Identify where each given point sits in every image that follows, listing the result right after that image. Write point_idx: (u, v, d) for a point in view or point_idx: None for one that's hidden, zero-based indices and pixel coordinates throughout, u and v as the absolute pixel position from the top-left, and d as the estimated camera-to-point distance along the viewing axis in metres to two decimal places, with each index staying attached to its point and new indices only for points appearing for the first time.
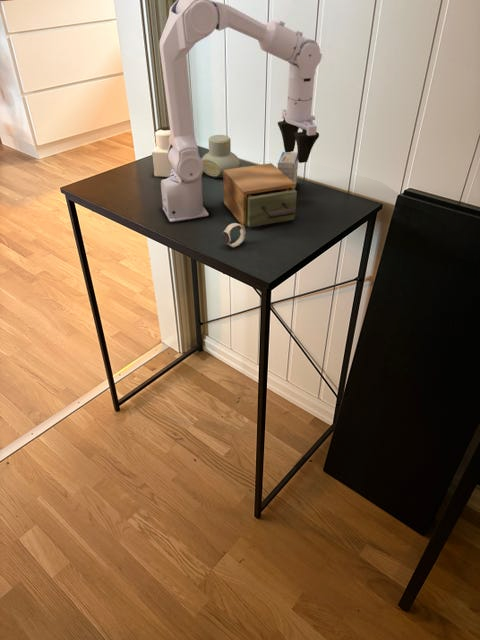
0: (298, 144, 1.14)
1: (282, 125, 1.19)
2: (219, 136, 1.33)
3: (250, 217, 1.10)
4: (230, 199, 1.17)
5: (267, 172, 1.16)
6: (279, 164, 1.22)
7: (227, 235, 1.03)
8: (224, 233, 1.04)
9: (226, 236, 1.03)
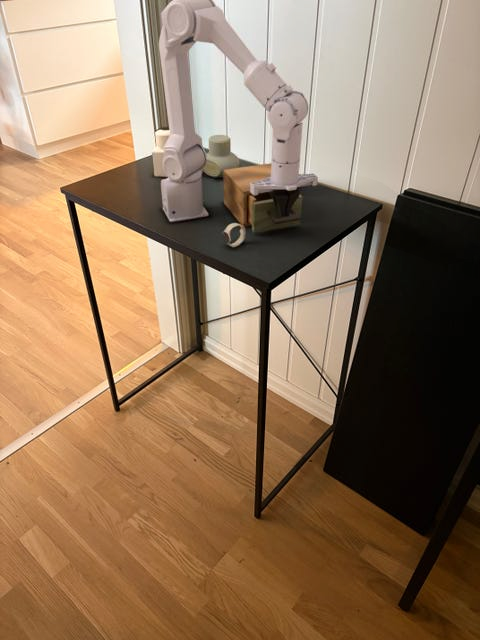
0: None
1: None
2: (219, 136, 1.33)
3: (255, 222, 1.08)
4: (230, 199, 1.17)
5: (267, 172, 1.16)
6: None
7: (227, 235, 1.03)
8: (224, 233, 1.04)
9: (226, 236, 1.03)
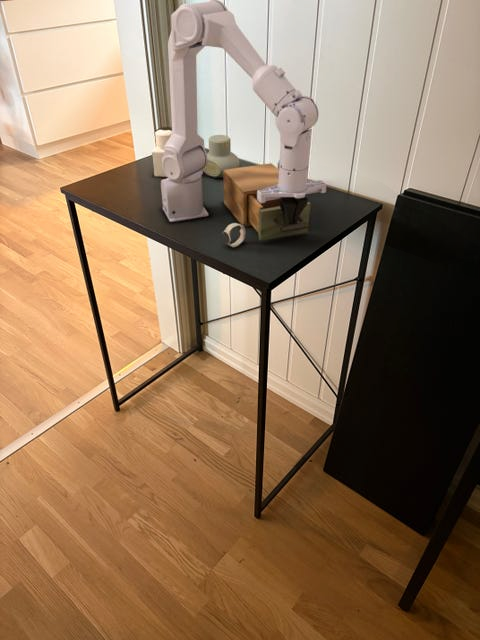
0: None
1: None
2: (219, 136, 1.33)
3: (262, 230, 1.05)
4: (230, 199, 1.17)
5: (267, 172, 1.16)
6: None
7: (227, 235, 1.03)
8: (224, 233, 1.04)
9: (226, 236, 1.03)
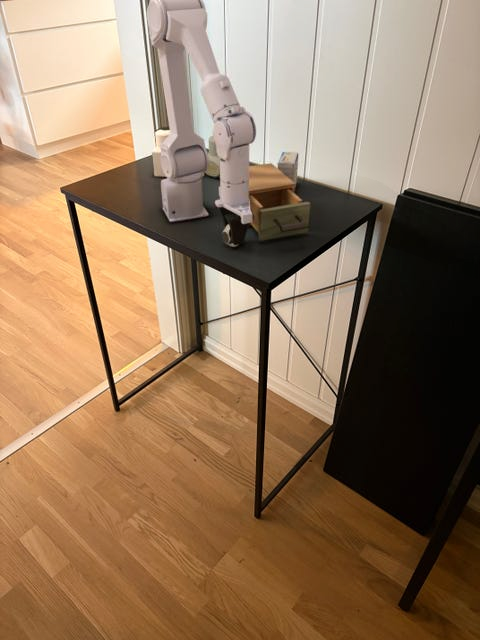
0: None
1: None
2: None
3: (262, 230, 1.05)
4: None
5: (267, 172, 1.16)
6: (279, 164, 1.22)
7: (226, 234, 1.03)
8: (223, 233, 1.04)
9: (225, 235, 1.03)
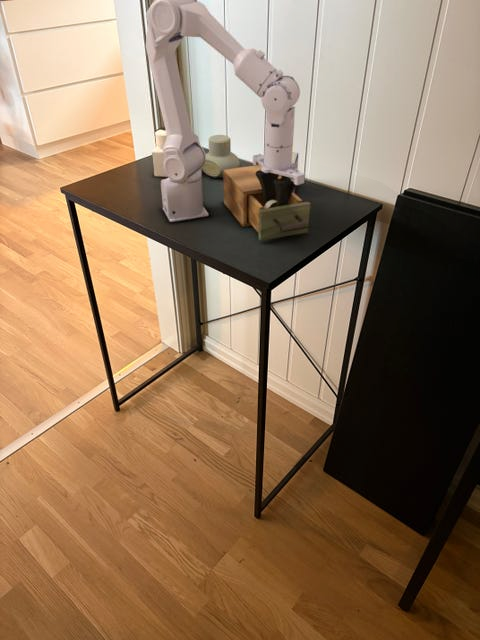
0: None
1: None
2: (219, 136, 1.33)
3: (261, 230, 1.05)
4: (230, 199, 1.17)
5: None
6: None
7: None
8: None
9: None
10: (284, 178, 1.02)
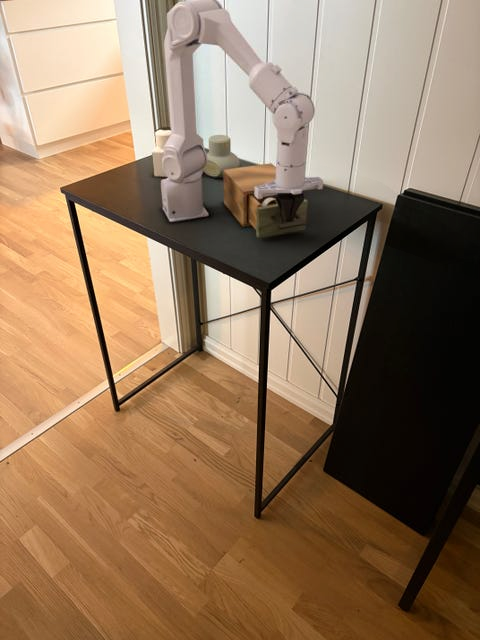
0: None
1: None
2: (219, 136, 1.33)
3: (259, 228, 1.06)
4: (230, 199, 1.17)
5: (267, 172, 1.16)
6: None
7: None
8: None
9: None
10: None
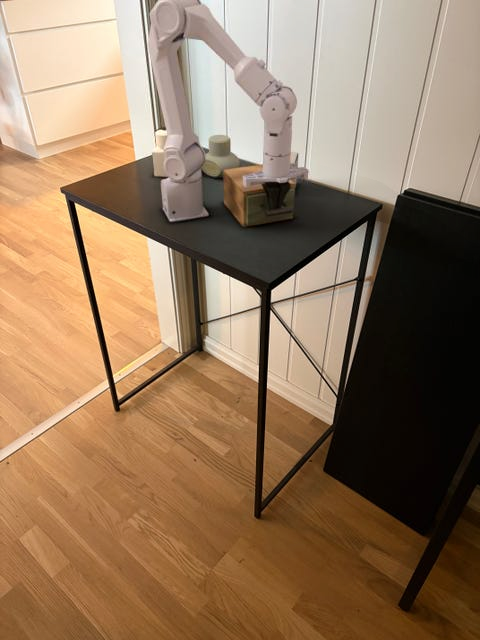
0: None
1: None
2: (219, 136, 1.33)
3: (248, 215, 1.10)
4: (230, 199, 1.17)
5: None
6: None
7: None
8: None
9: None
10: None
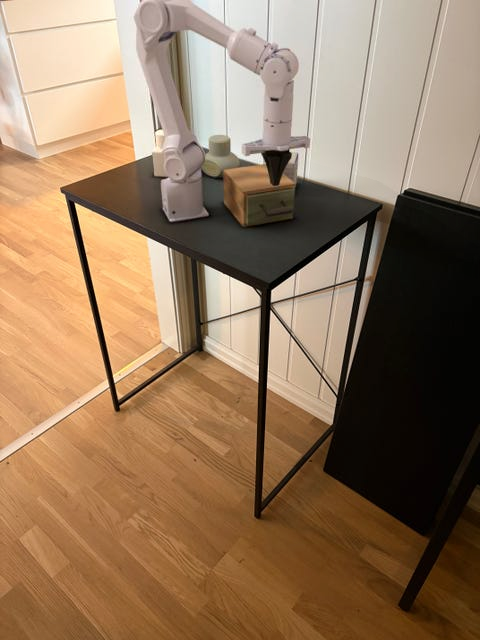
0: None
1: None
2: (219, 136, 1.33)
3: (248, 215, 1.10)
4: (230, 199, 1.17)
5: (267, 172, 1.16)
6: None
7: None
8: None
9: None
10: None
